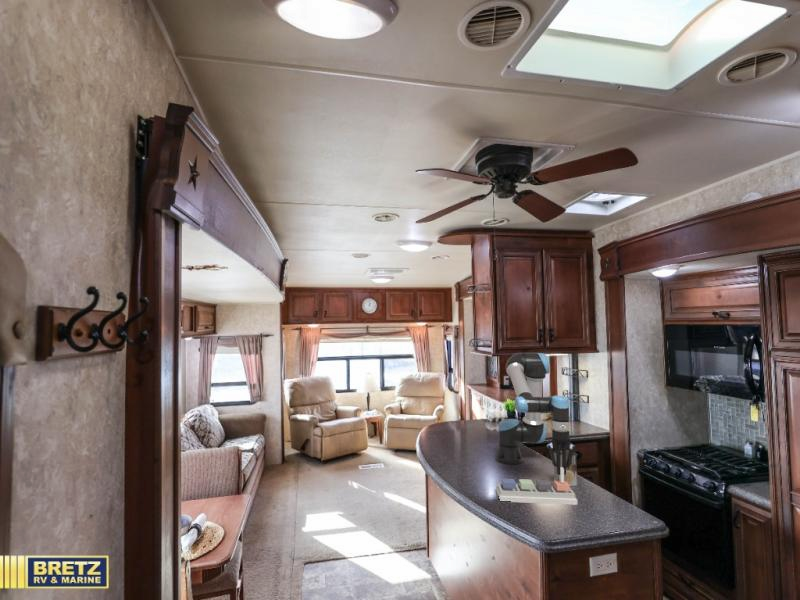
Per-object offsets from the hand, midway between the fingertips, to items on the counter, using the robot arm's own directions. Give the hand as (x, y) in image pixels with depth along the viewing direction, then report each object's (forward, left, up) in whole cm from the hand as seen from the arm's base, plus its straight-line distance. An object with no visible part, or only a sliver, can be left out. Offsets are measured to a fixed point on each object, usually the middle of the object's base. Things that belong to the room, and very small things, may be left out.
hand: (561, 481), depth 198 cm
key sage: (0, -16, -3) cm, 16 cm away
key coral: (0, 0, -3) cm, 3 cm away
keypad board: (0, -12, -8) cm, 14 cm away
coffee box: (-18, +7, -8) cm, 21 cm away
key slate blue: (0, -24, -3) cm, 24 cm away
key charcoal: (0, -8, -3) cm, 9 cm away
